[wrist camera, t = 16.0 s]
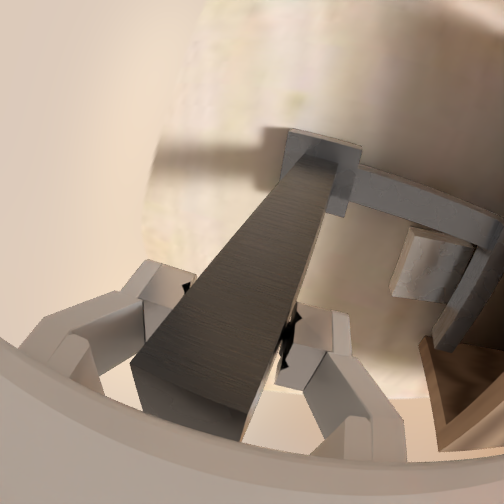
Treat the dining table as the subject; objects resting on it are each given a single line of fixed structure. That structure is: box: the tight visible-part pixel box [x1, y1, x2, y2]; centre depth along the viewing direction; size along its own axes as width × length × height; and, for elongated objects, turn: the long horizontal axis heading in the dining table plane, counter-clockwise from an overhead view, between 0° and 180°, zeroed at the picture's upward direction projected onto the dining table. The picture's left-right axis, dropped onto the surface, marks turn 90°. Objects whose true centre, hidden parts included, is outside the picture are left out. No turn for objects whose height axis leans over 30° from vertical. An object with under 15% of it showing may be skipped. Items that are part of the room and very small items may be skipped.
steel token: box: [389, 226, 474, 304], centre depth 24 cm, size 6×6×2 cm
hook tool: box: [130, 128, 504, 442], centre depth 15 cm, size 18×14×20 cm
